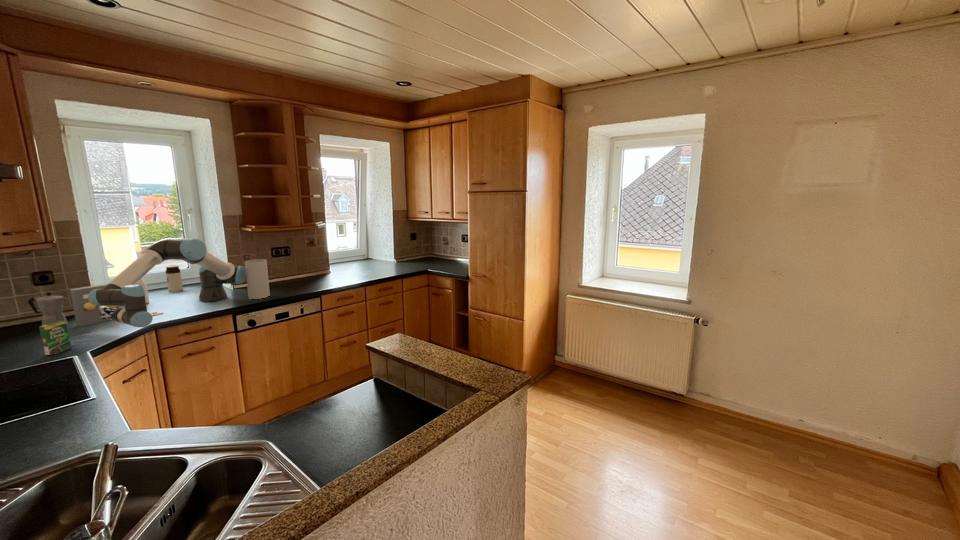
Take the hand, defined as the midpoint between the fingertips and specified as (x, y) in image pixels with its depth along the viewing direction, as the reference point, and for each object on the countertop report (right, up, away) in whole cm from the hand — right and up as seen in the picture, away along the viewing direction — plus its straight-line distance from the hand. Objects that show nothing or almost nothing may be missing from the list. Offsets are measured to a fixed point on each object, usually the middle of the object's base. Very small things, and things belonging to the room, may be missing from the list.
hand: (101, 308), depth 192 cm
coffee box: (+9, -16, -28) cm, 34 cm away
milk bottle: (-20, -2, +45) cm, 49 cm away
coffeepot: (-28, -10, +3) cm, 30 cm away
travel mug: (-24, +5, +78) cm, 81 cm away
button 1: (-13, -1, +6) cm, 15 cm away
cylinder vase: (+43, +1, +64) cm, 77 cm away
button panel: (-11, -7, +15) cm, 20 cm away
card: (+4, -6, +23) cm, 24 cm away
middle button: (-7, 0, +11) cm, 13 cm away
